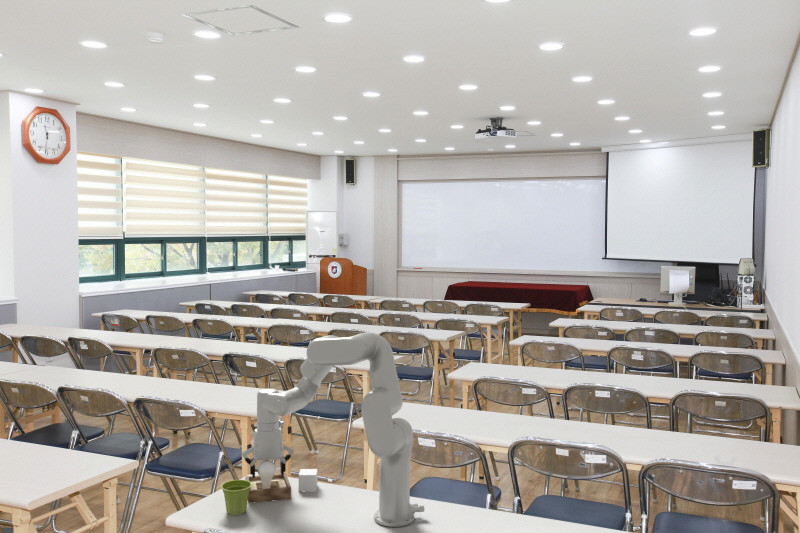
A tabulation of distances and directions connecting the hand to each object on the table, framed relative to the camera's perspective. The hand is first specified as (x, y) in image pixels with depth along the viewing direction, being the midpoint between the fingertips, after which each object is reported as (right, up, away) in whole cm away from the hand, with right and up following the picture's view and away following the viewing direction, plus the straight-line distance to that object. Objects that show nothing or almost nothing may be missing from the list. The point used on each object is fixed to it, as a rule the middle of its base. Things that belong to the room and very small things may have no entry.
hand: (267, 475), depth 231 cm
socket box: (0, -6, 0) cm, 6 cm away
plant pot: (-7, -7, -15) cm, 18 cm away
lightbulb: (-1, -6, 0) cm, 6 cm away
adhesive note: (+13, -7, +5) cm, 16 cm away
